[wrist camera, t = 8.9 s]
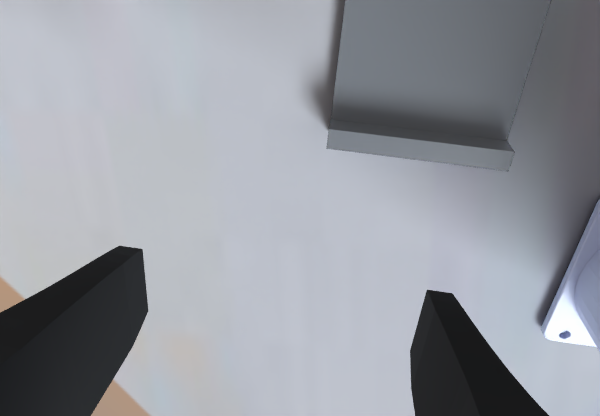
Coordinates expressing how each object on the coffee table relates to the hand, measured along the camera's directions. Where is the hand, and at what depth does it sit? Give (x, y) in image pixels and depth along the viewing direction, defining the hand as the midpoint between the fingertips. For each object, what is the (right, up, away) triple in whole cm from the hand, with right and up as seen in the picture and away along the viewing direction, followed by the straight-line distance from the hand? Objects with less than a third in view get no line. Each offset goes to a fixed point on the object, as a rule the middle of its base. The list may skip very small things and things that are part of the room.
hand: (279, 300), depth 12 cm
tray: (+6, +9, +6) cm, 12 cm away
